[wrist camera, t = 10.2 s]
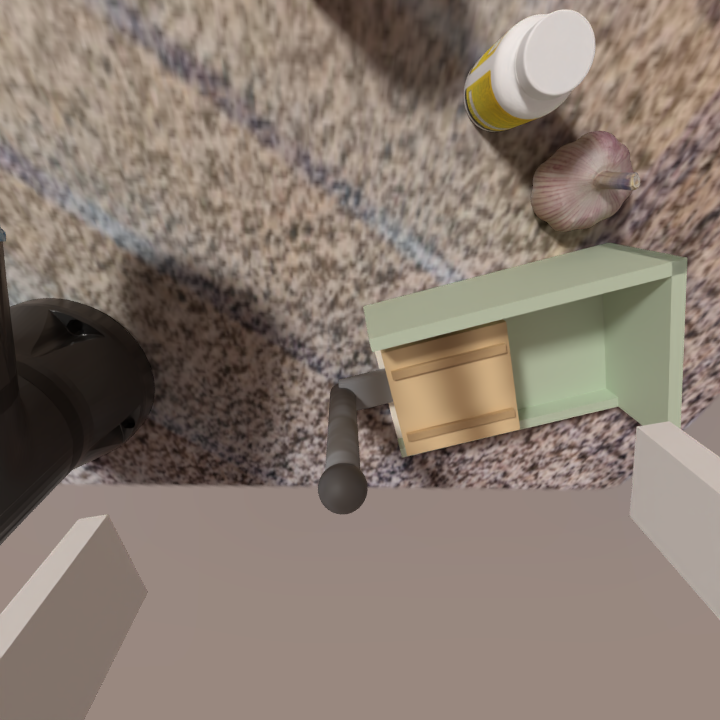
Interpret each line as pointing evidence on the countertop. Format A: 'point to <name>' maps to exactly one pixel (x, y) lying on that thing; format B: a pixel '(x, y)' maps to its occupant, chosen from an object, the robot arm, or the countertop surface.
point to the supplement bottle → (529, 70)
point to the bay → (565, 331)
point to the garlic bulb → (583, 182)
